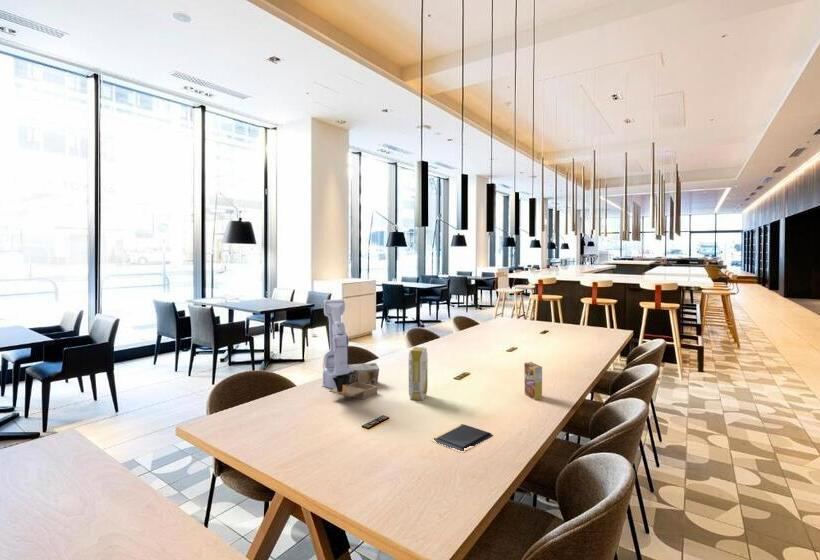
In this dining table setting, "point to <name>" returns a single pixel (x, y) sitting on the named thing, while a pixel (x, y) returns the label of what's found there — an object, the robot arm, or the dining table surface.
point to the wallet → (462, 437)
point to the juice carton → (418, 373)
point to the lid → (348, 390)
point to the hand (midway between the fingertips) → (341, 391)
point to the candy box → (533, 380)
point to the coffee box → (363, 373)
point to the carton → (369, 391)
